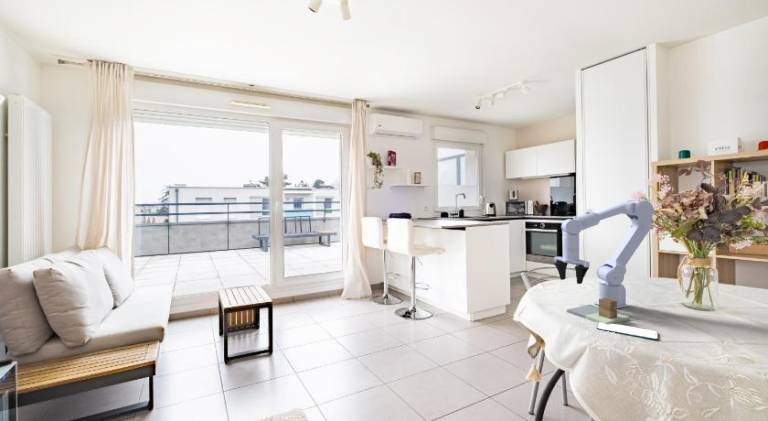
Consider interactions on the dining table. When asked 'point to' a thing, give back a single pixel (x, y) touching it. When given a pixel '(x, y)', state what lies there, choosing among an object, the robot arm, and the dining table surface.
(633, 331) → the smartphone
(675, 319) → the dining table surface
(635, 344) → the dining table surface
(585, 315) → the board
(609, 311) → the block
